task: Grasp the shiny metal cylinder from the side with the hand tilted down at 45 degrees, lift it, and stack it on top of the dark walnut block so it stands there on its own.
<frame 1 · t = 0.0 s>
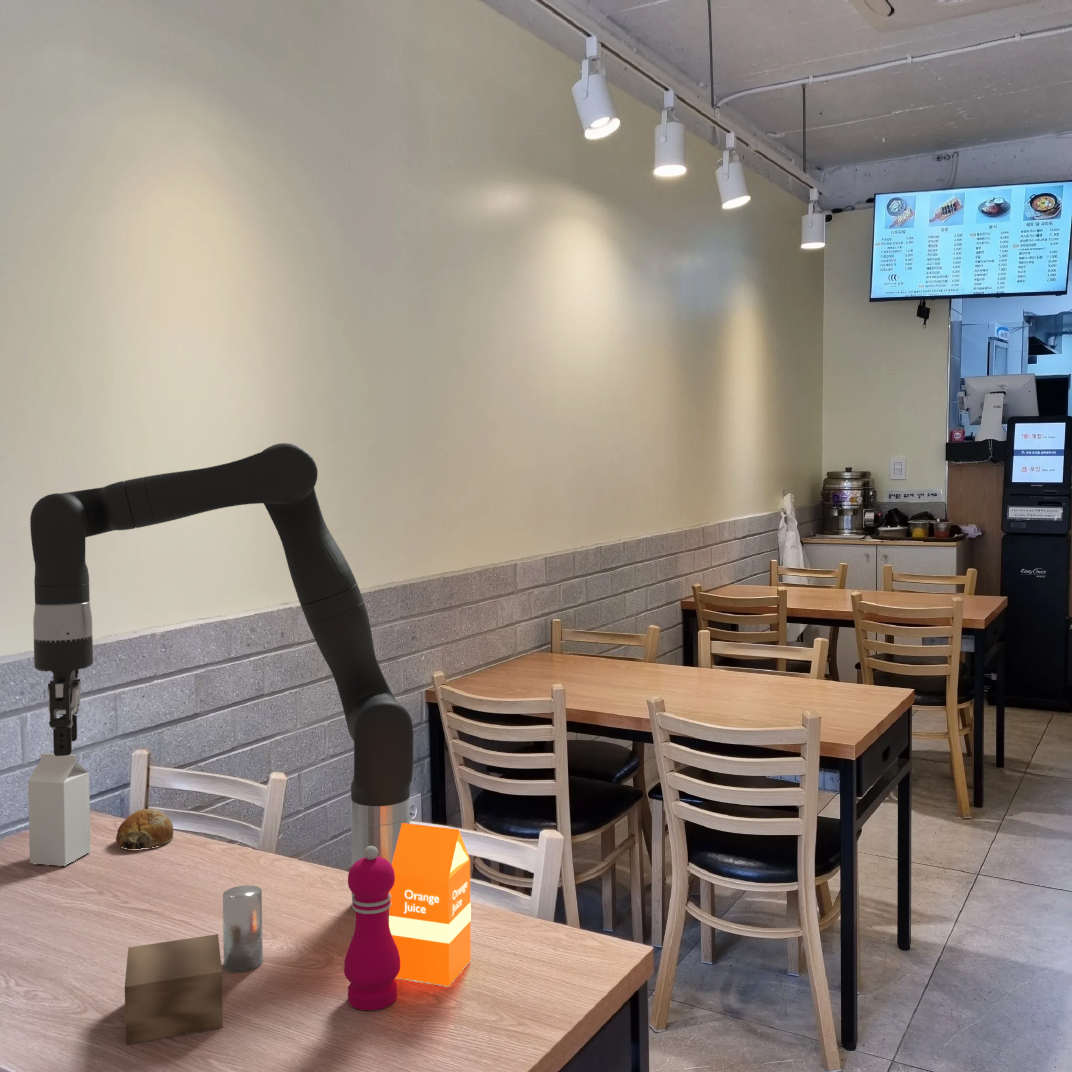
hand: (66, 747, 141), 29 cm above the table, tool pointing down, fingers open, 8 cm apart
orange juice: (431, 971, 136), on the table
shiny metal cylinder: (243, 963, 138), on the table
pepper mill: (372, 1000, 128), on the table
milk carton: (60, 860, 178), on the table
bread roll: (145, 844, 187), on the table
walnut block: (174, 1013, 125), on the table
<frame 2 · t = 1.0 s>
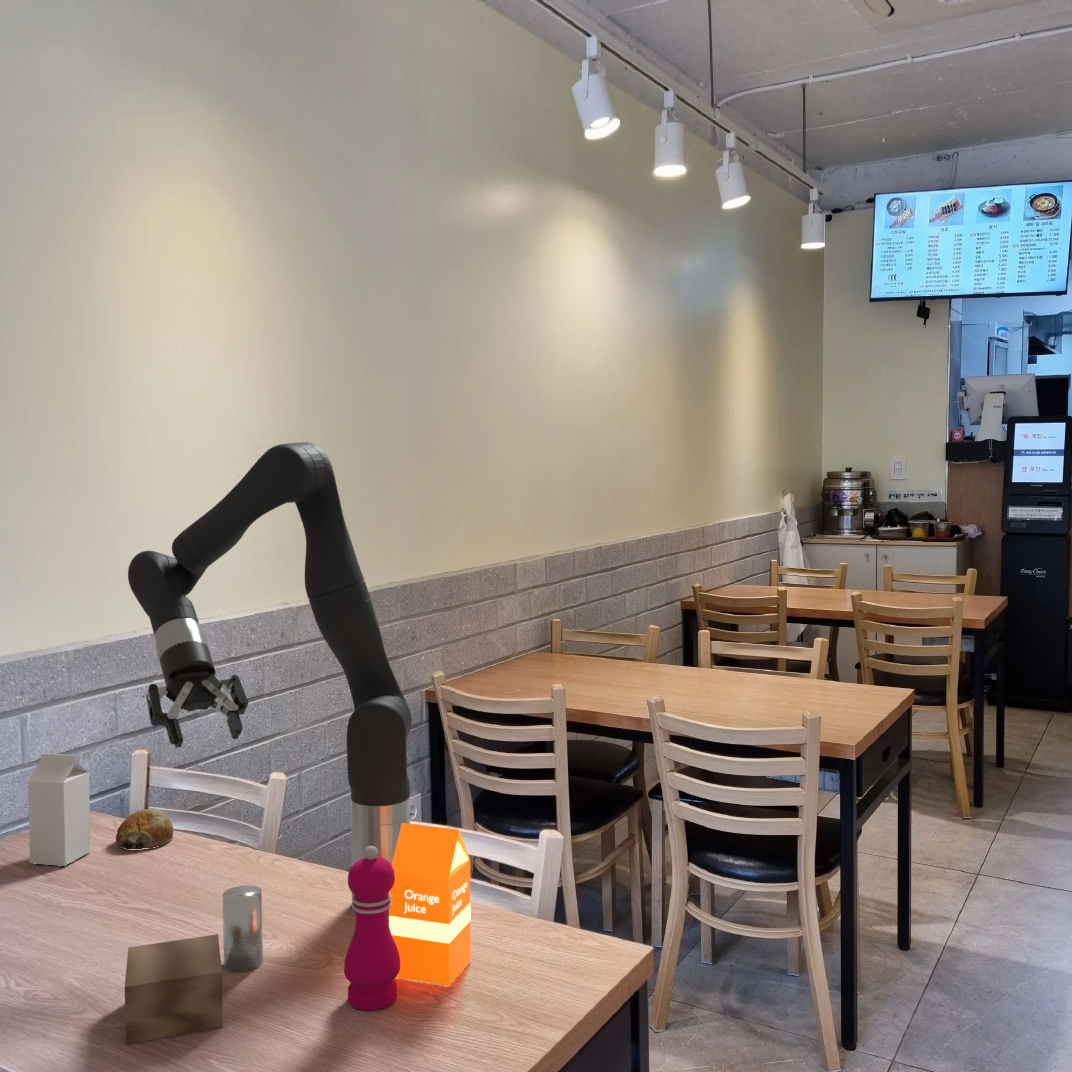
hand: (208, 740, 148), 29 cm above the table, tool tilted 45°, fingers open, 8 cm apart
nothing on the table moved.
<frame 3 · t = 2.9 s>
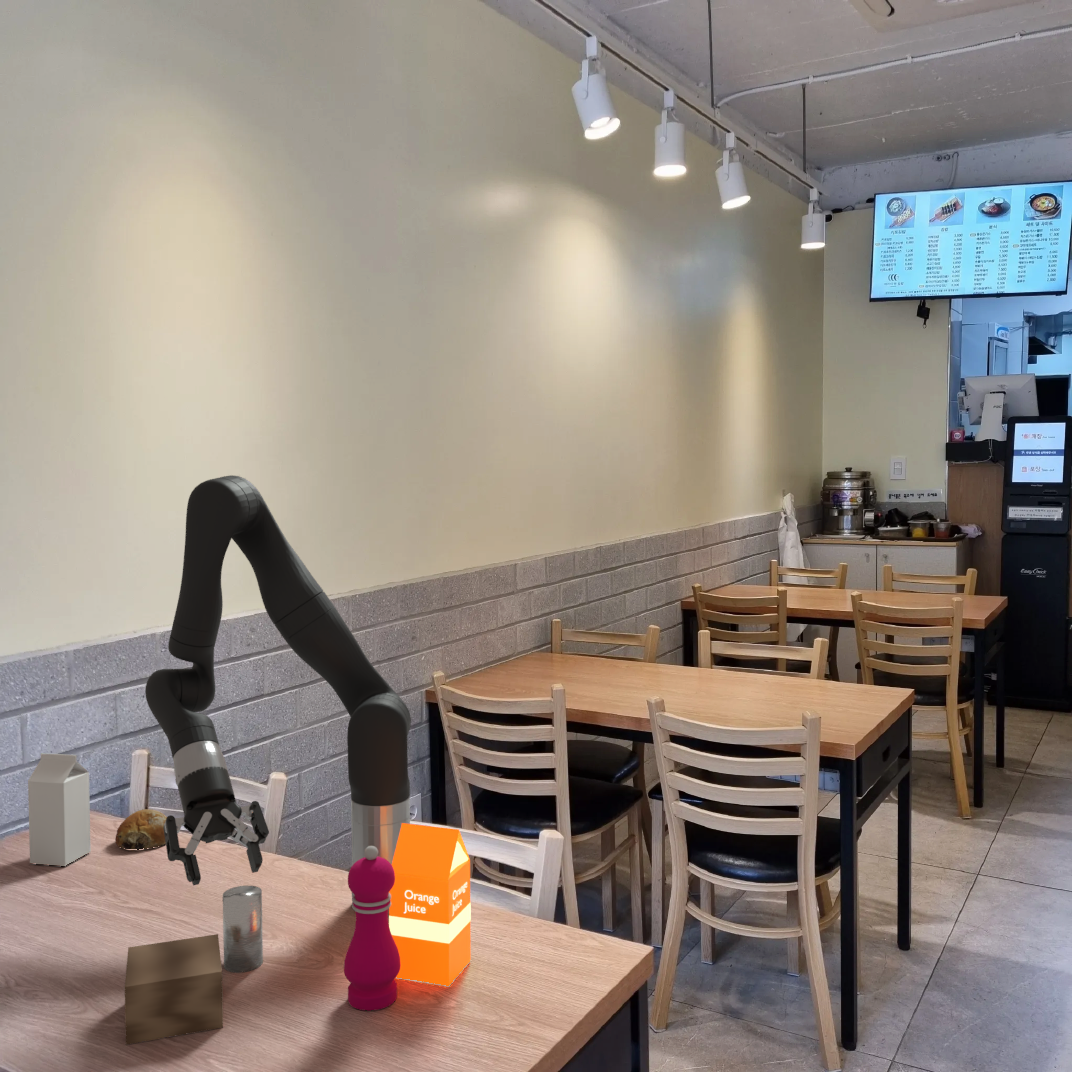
hand: (227, 876, 143), 10 cm above the table, tool tilted 45°, fingers open, 8 cm apart
nothing on the table moved.
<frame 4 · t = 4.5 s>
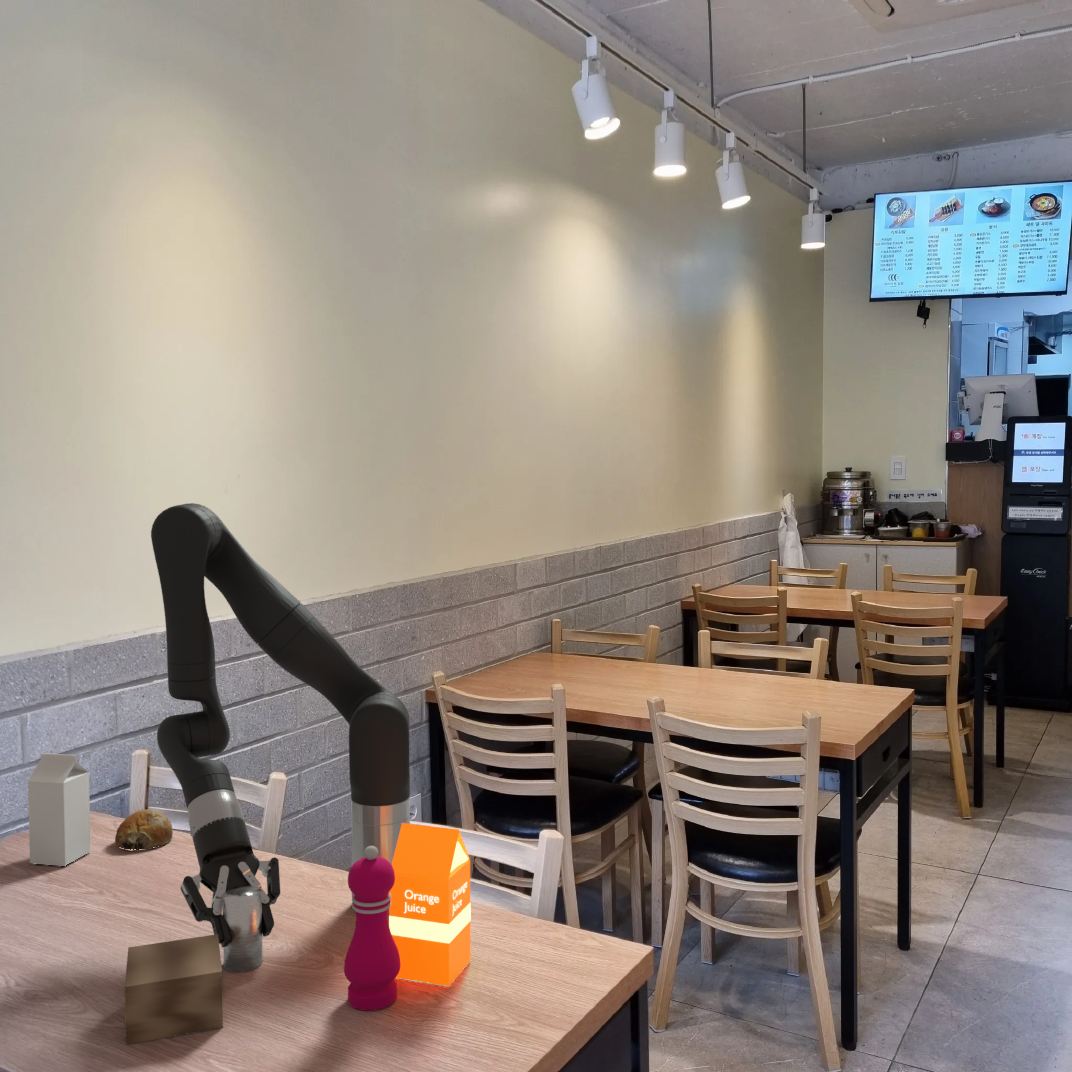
hand: (247, 938, 137), 4 cm above the table, tool tilted 45°, fingers closed on shiny metal cylinder, 5 cm apart
shiny metal cylinder: (243, 963, 138), on the table, touching gripper
everything else where it was.
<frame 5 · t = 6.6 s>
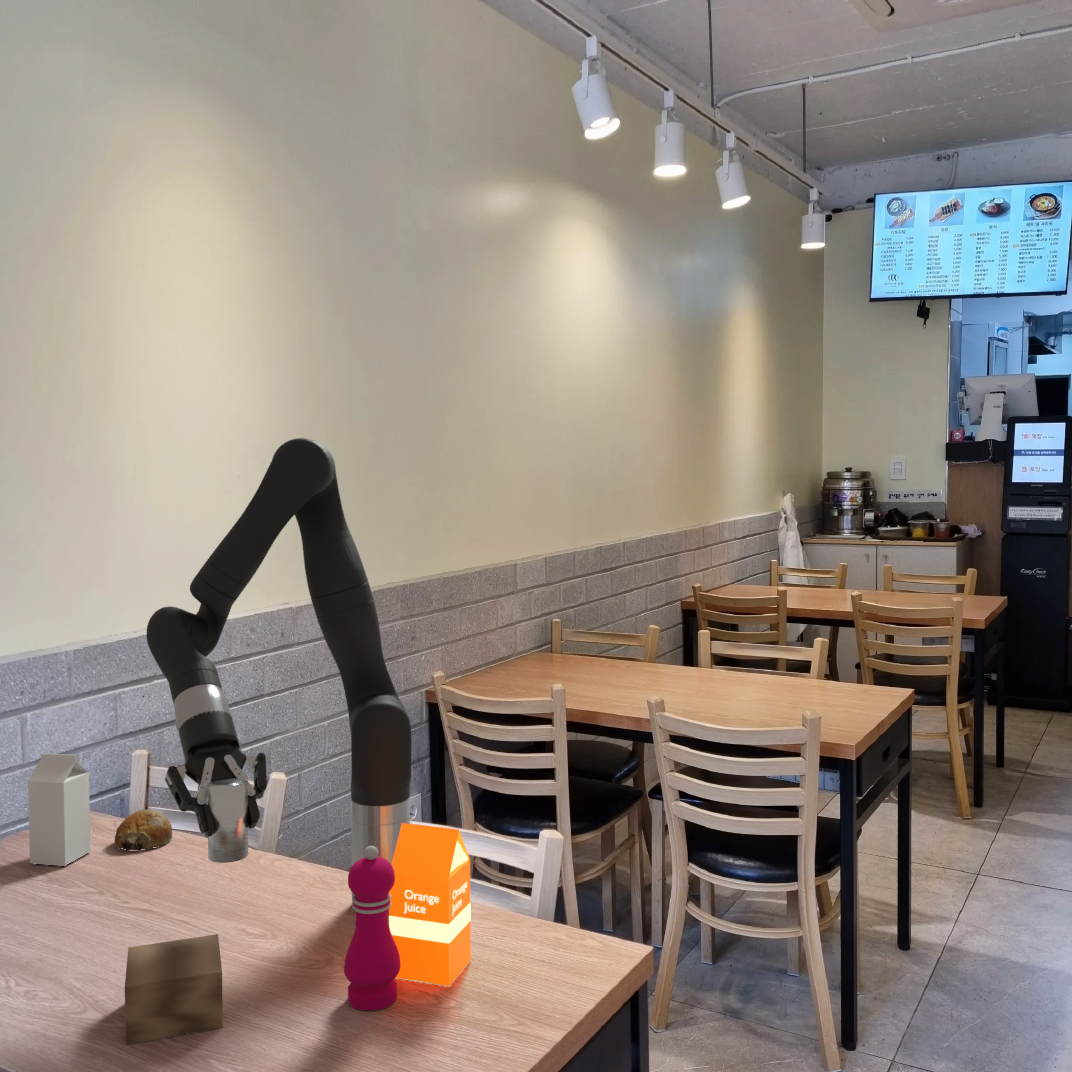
hand: (232, 828, 134), 20 cm above the table, tool tilted 45°, fingers closed on shiny metal cylinder, 5 cm apart
shiny metal cylinder: (228, 855, 136), point 16 cm above the table, touching gripper
everything else where it was.
when the fingers open (12 cm above the table, at t = 9.0 s): shiny metal cylinder stays where it is, resting on walnut block.
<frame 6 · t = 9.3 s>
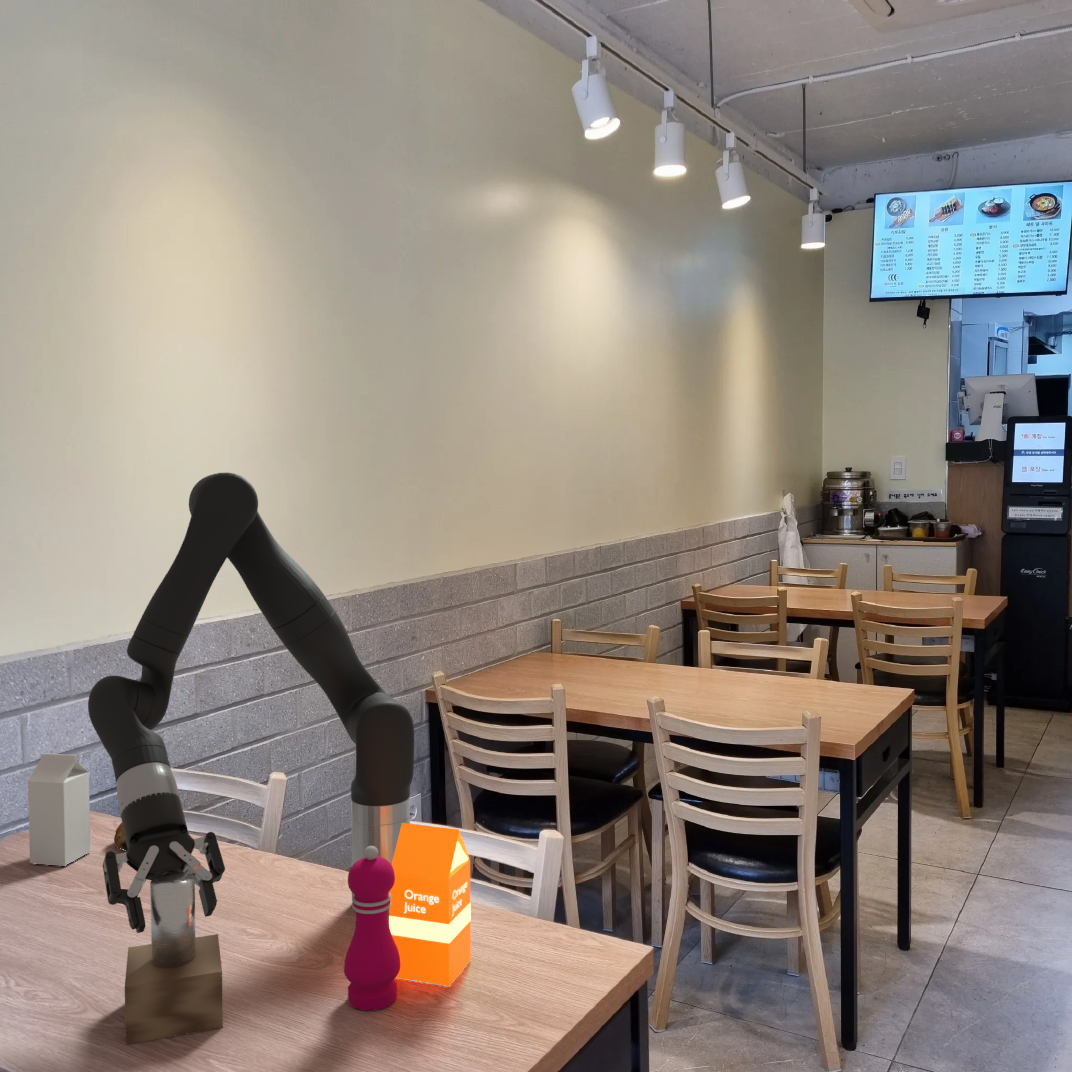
hand: (176, 921, 123), 12 cm above the table, tool tilted 45°, fingers open, 8 cm apart
shiny metal cylinder: (173, 958, 125), point 7 cm above the table, touching walnut block
everything else where it was.
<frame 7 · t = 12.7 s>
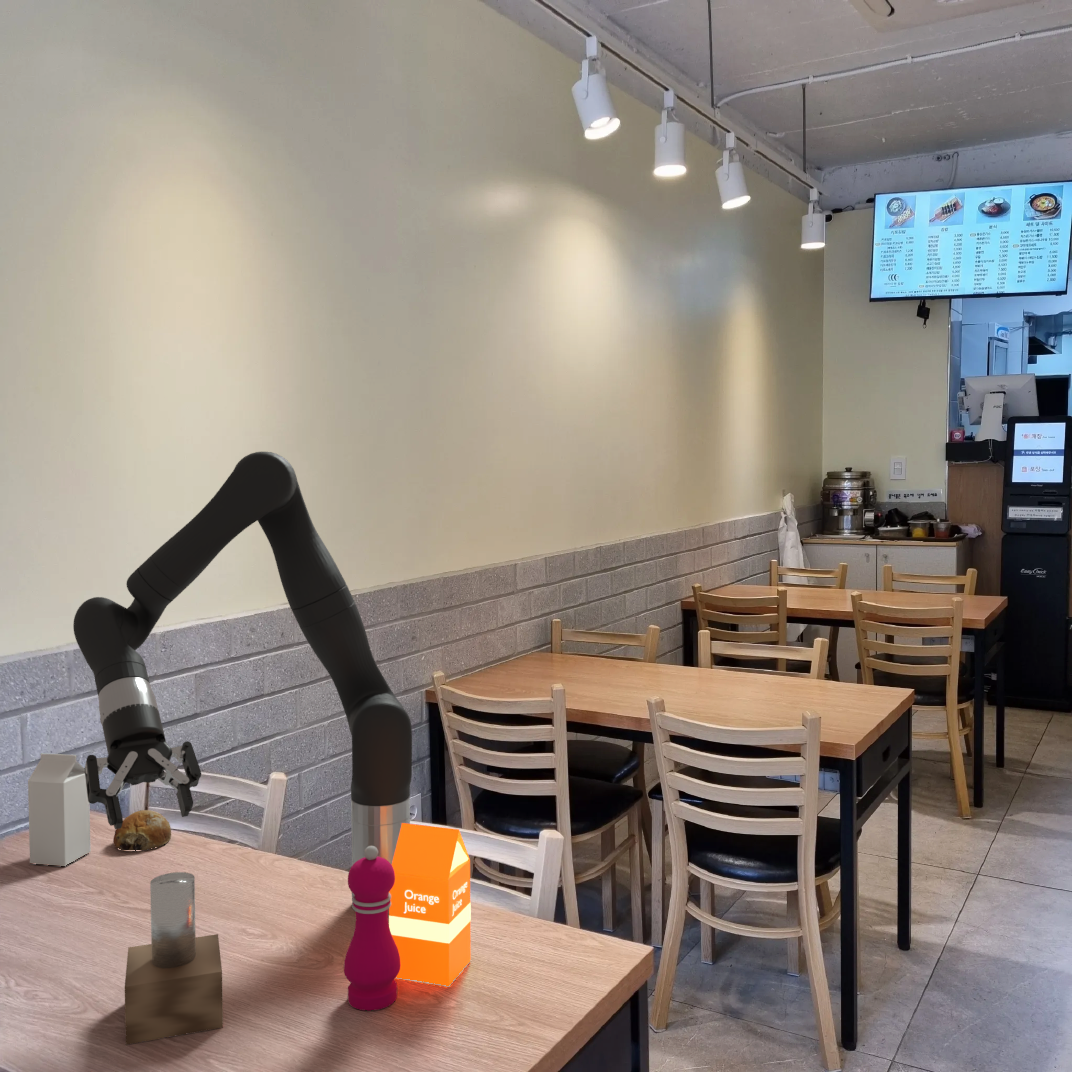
hand: (153, 819, 131), 22 cm above the table, tool tilted 45°, fingers open, 8 cm apart
nothing on the table moved.
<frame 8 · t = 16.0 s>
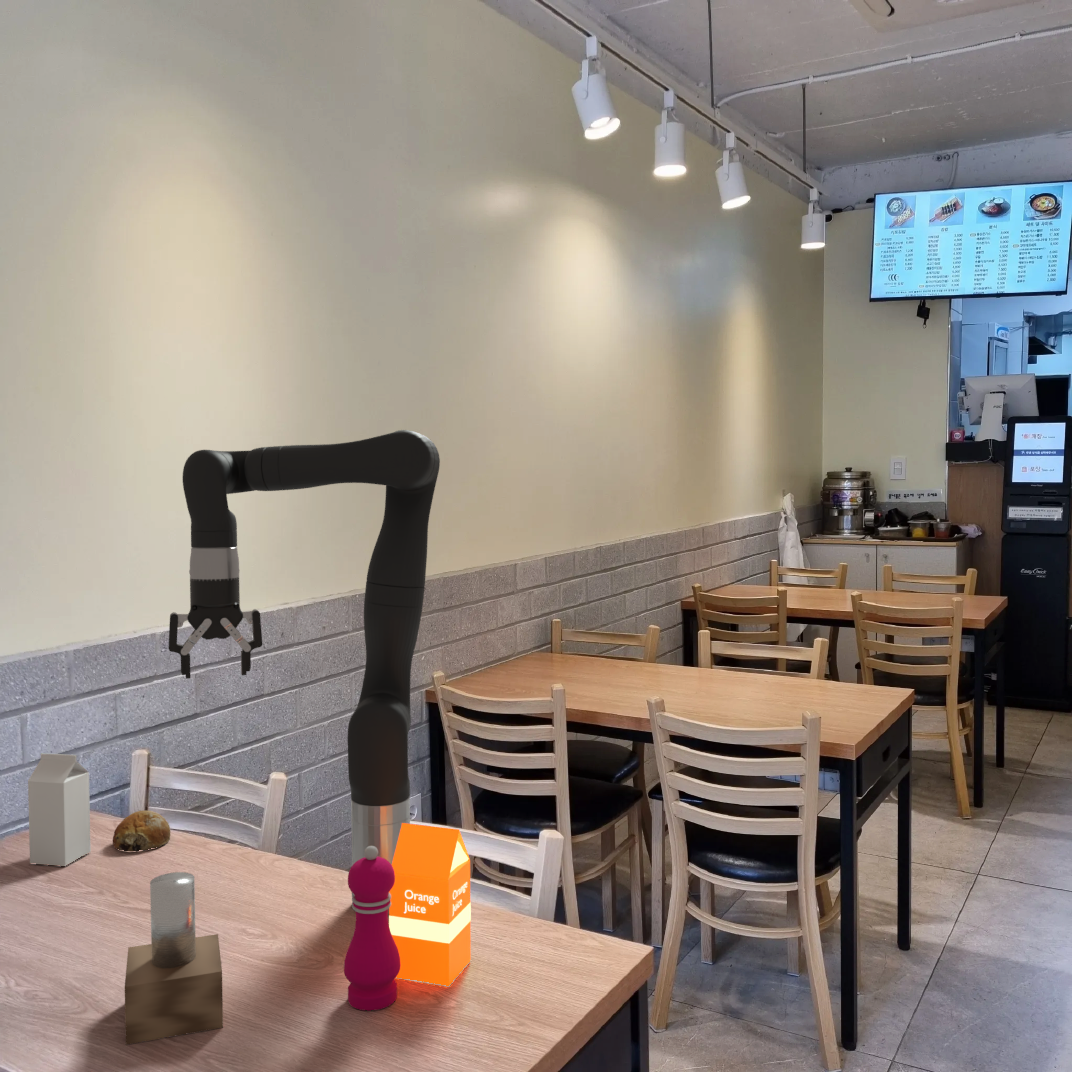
hand: (216, 676, 160), 36 cm above the table, tool pointing down, fingers open, 8 cm apart
nothing on the table moved.
at the end: shiny metal cylinder inside the target area on the walnut block (0.2 cm from its centre), point 7.0 cm above the walnut block's base; shiny metal cylinder tilted 0°; the gripper is holding nothing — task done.
